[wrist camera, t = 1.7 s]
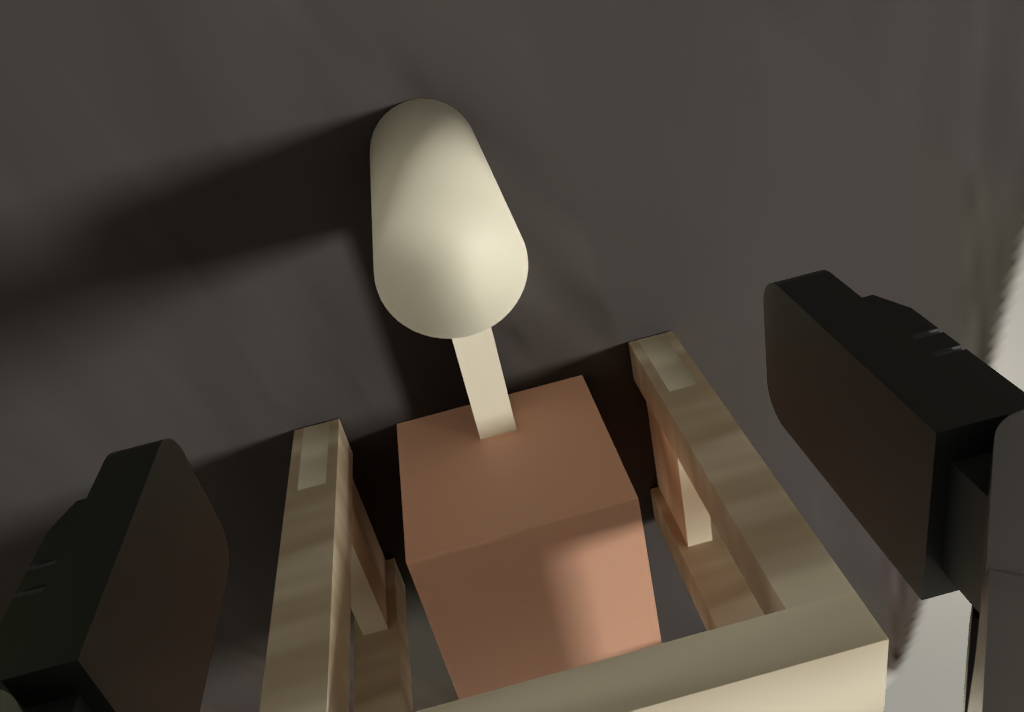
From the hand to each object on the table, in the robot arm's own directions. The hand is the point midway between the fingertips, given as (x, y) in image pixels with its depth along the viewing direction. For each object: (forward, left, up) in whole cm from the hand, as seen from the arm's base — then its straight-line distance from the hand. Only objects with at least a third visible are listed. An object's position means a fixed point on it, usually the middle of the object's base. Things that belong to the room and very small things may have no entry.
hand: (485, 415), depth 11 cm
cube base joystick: (+6, 0, -12) cm, 13 cm away
